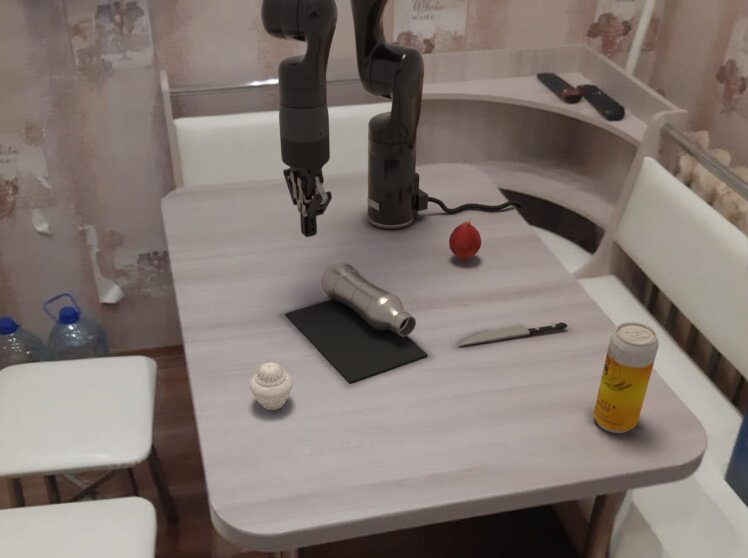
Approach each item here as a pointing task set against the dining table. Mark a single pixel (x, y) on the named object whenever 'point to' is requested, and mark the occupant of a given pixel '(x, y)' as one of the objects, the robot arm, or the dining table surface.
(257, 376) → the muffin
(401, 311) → the plastic bottle
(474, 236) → the onion
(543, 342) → the dining table surface
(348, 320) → the rubber mat
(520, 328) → the chef's knife
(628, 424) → the beer can
